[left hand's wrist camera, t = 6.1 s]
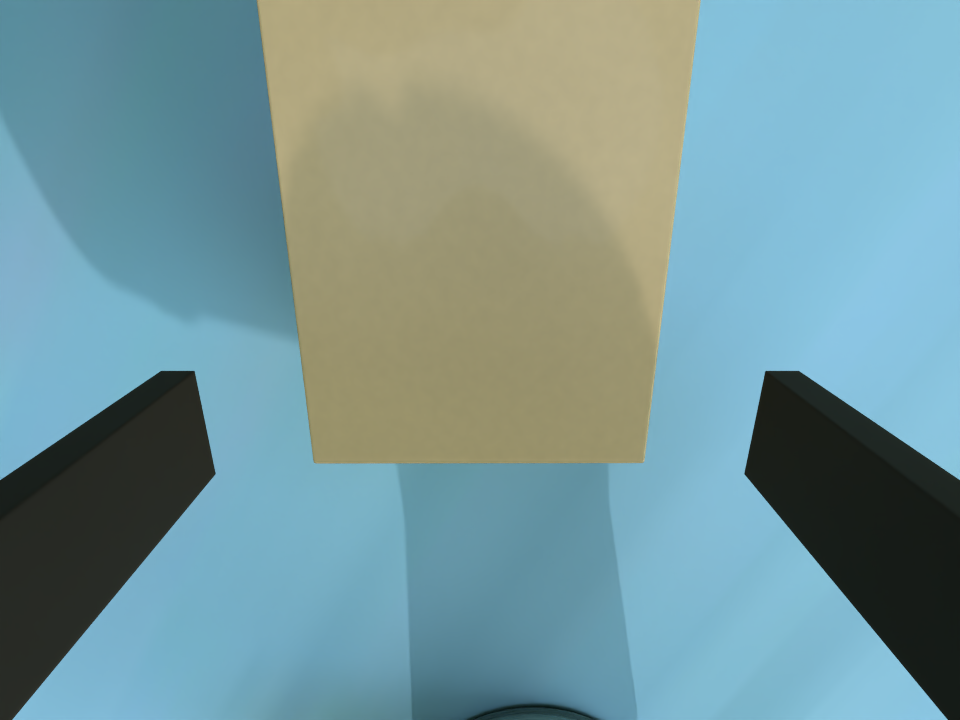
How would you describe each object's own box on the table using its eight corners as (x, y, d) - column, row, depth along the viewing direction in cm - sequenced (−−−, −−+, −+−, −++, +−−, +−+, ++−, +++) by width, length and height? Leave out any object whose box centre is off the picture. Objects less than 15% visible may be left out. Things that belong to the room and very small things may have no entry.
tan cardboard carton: (332, -142, 20) (204, -407, 11) (624, -142, 20) (751, -406, 11) (370, 359, 27) (313, 464, 18) (587, 358, 27) (644, 464, 18)
